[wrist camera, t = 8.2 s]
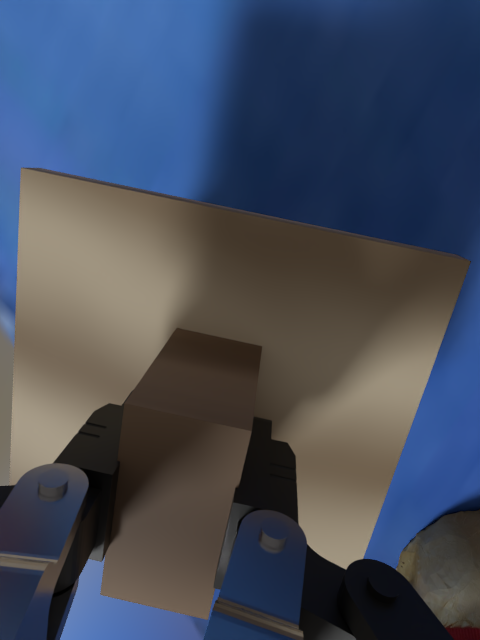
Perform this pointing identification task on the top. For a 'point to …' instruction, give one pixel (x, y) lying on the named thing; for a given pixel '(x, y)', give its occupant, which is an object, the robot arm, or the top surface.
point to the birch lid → (217, 365)
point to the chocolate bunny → (448, 571)
